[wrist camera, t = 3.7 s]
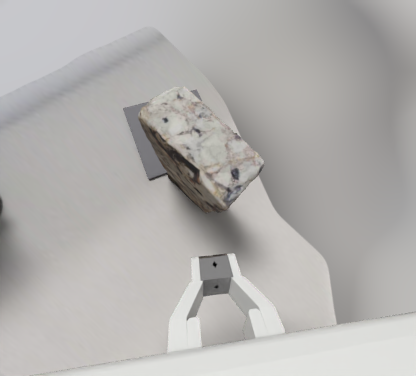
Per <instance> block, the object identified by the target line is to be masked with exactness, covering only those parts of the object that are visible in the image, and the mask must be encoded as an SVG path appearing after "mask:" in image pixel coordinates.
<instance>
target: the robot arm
mask: <svg viewBox="0 0 416 376" xmlns="http://www.w3.org/2000/svg"><path fill="white" fill-rule="evenodd" d="M191 273H192V282H189V284H188V286H187V288H186V290H185V292H184V294H183V296H182V297H181V299H180V301H179V303H178V305H177V307H176V309H175V310H174V312H173V314H172V316H171V318H170V320H169V334H168V348H167V353H163V354H157V355H151V356H145V357H139V358H133V359H127V360H121V361H115V362H109V363H103V364H97V365H91V366H85V367H79V368H73V369H67V370H61V371H55V372H49V373H43V374H37V375H31V376H416V312H411V313H405V314H399V315H393V316H387V317H381V318H375V319H369V320H362V321H356V322H350V323H344V324H338V325H332V326H326V327H320V328H314V329H308V330H302V331H296V332H290V333H286V332H285V330H284V327H283V325H282V322H281V320H280V318H279V315H278V313H277V311H276V308H275V306H274V305H273V304H272V303H271V302H270V301H269V300H268V299H267V298H266V297H265V296H264V295H263V294H262V293H261V292H260V291H259V290H258V289H257V288H256V287H255V286H254V285H253V284H252V283H251V282H250V281H249V280H248V279H247V278H246V277H245V276H242V275H241V272H240V268H239V265H238V262H237V259H236V256H235V254H234V253H231V254H220V255H213V256H201V257H191ZM227 293H229V295H230V297H231V298H232V299H233V301H234V302H235V303H236V304H237V306H238V307H239V308H240V310H241V311H242V312H243V314H244V315H245V316H246V321H245V324H244V327H243V334H244V338H245V340H242V341H236V342H230V343H224V344H218V345H212V346H205V347H202V343H201V330H200V319H199V318H198V317H196V315H197V312H198V309H199V307H200V304H201V302H202V299H203V296H210V295H216V294H227Z"/></svg>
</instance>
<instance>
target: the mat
mask: <svg viewBox="0 0 416 376" xmlns="http://www.w3.org/2000/svg"><path fill="white" fill-rule="evenodd" d="M190 92H192V93H193V94H194V95H195V96H196V97H197V98H198V99H199V100H200V101H202V100H201V98H200V96H199V94H198V92H197V90H193V91H190ZM148 103H149V102H146V103H142V104H138V105H134V106H130V107H127V108H123V110H124V113H125V115H126V118H127V121H128V124H129V127H130V129H131V132H132V135H133V138H134V141H135V143H136V146H137V149H138V152H139V154H140V157H141V160H142V163H143V166H144V168H145V171H146V174H147V177H148V179H152V178H155V177H158V176H161V175H164V174H167V171H166V170H165V169H164V167H163V166H162V164H161V162H160V161H159V158H158V157H157V155H156V154H155V151H154V149H153V147H152V145H151V143H150V141H149V140H148V138H147V137H146V134H145V132H144V130H143V129H142V127H141V124H140V121H139V119H138V114H139V112H140V110H141V108H142V107H144V106H146V105H147V104H148Z"/></svg>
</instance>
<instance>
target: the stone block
mask: <svg viewBox="0 0 416 376" xmlns="http://www.w3.org/2000/svg"><path fill="white" fill-rule="evenodd" d="M138 119H139V121H140V124H141V127H142V129H143V130H144V132H145V134H146V137H147V138H148V140H149V141H150V143H151V145H152V147H153V149H154V151H155V154H156V155H157V157H158V158H159V161H160V162H161V164H162V166H163V167H164V169H165V170H166V171H167V173H168V177H169V179H170V180H171V181H172V182H173V183H175V184H176V185H177V186H178V187H179V188H180V189H181V190H182V191H183V192H184V193H185V194H186V195H187V196H188V197H189V198H190V199H191V200H192V201H193V202H194V203H195V204H196V205H198V206H199V207H200V208H201V209H202V210H203V211H204V212H205V213H207V212H208V213H209V212H211V211H214V212H215V211H217V212H222V211H225V210H227V209H228V208H229V207H230V205H231V204H232V203H233V202H234V201H235V200H236V199H237V198H238V196H239V195H240V194H241V193H242V192H243V191H244V190H245V189H246V187H247V186H248V185H249V183H250V182H252V181H253V180H254V179H255V178H256V177H257V176H258V174H259V173H260V172H261V170H262V168H263V166H264V161H263V160H262V158H261V157H260V156H259V154H258V153H257V152H255V151H254V150H253V149H252V148H251V147H250V146H249V145H248V144H247V143H246V142H245V141H243V140H242V139H241V138H240V137H239V136H238V135H237V133H234V132H233V131H232V130H231V129H230V128H229V127H228V126H227V125H226V124H224V123H223V122H222V121H221V120H220V119H219V118H218V117H216V115H215V114H214V113H213V112H212V111H211V110H210V109H209V108H208V107H207V106H206V105H205V104H204V103H203V102H202V101H200V100H199V99H198V98H197V97H196V96H195V95H194V94H193V93H192V92H190V91H189V90H188V89H187V88H186V87H184V86H183V87H174V88H172V89H171V90H167V91H165V92H164V93H162V94H160V95H158V96H156V97H154V98H153V99H151V101H150V102H149V103H148V104H147V105H146V106H144V107H142V108H141V110H140V112H139V114H138Z"/></svg>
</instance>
